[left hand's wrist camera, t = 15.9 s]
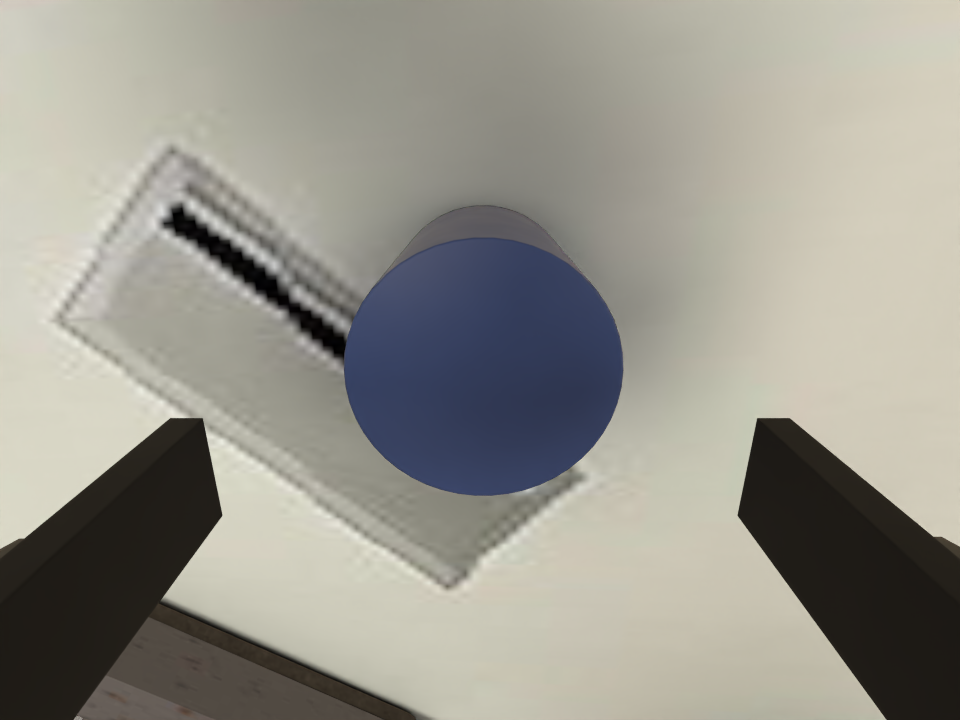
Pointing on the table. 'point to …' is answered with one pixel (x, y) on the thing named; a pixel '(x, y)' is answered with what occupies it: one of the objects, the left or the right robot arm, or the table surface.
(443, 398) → the can
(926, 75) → the table surface
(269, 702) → the toy
